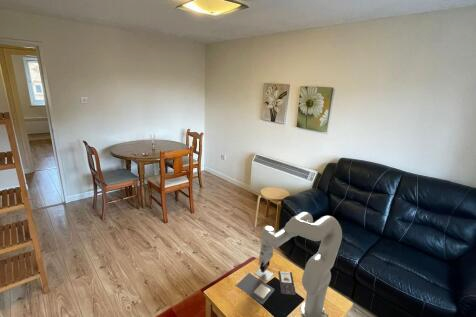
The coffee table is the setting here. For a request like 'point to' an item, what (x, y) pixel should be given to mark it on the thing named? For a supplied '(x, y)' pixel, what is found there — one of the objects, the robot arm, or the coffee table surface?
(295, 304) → the coffee table surface
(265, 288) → the tile
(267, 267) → the flat brown wooden slab
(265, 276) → the pad
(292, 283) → the chocolate bar
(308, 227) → the robot arm
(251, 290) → the mat
